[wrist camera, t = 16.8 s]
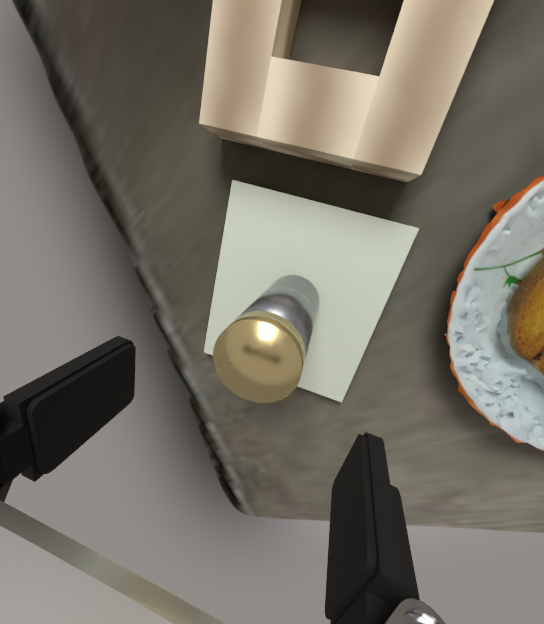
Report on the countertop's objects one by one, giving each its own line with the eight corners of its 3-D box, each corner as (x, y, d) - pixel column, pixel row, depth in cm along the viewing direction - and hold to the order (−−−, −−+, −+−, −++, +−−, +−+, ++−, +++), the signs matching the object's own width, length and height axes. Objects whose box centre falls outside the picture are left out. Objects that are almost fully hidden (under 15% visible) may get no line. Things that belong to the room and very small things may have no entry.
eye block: (531, -128, 15) (595, -245, 11) (407, 182, 21) (421, 175, 17) (262, -147, 17) (241, -250, 13) (221, 138, 23) (199, 123, 19)
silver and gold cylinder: (326, 284, 24) (313, 339, 13) (310, 331, 26) (287, 415, 15) (274, 268, 25) (220, 308, 14) (262, 315, 26) (207, 384, 15)
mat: (415, 228, 22) (419, 228, 21) (341, 396, 28) (341, 402, 27) (236, 181, 24) (232, 179, 23) (207, 348, 31) (203, 352, 30)
